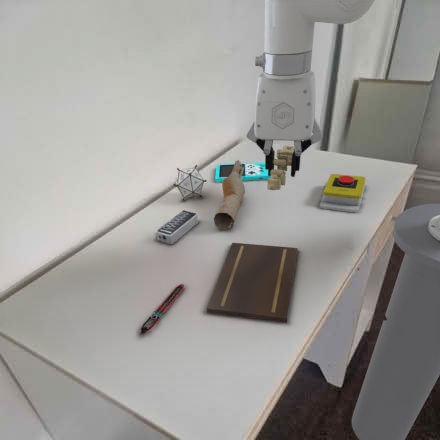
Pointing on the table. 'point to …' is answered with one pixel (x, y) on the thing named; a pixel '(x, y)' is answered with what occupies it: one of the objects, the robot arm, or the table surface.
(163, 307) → the pen
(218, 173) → the handheld game console
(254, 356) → the table surface
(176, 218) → the multiport hub
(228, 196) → the mannequin hand
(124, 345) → the table surface
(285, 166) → the decorative script
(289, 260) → the board
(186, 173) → the game die
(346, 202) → the emergency button
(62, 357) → the table surface
